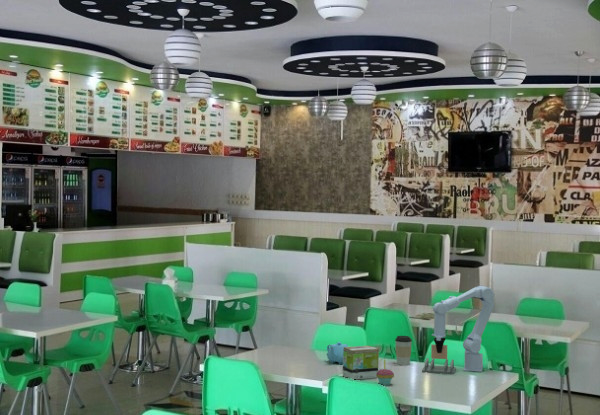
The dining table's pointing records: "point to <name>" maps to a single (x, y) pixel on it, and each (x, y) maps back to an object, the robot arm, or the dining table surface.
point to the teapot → (336, 352)
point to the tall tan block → (438, 355)
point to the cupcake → (385, 375)
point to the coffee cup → (403, 350)
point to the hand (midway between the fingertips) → (439, 352)
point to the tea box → (360, 362)
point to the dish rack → (439, 367)
